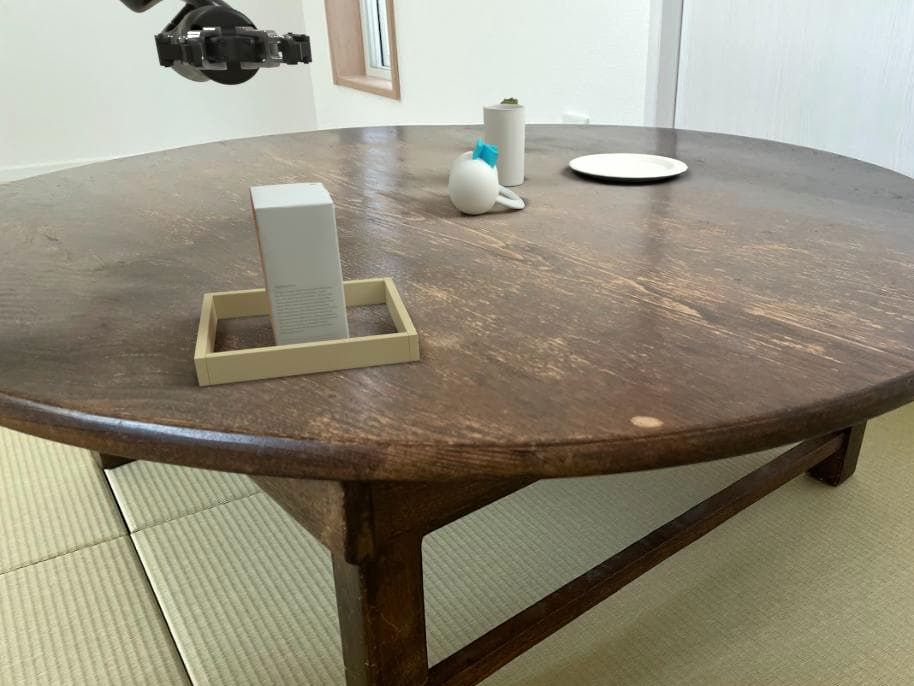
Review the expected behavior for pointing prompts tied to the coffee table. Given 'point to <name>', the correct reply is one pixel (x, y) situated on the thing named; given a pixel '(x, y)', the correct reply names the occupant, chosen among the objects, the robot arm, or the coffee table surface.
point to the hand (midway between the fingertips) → (246, 53)
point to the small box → (300, 262)
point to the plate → (628, 167)
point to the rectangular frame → (302, 355)
